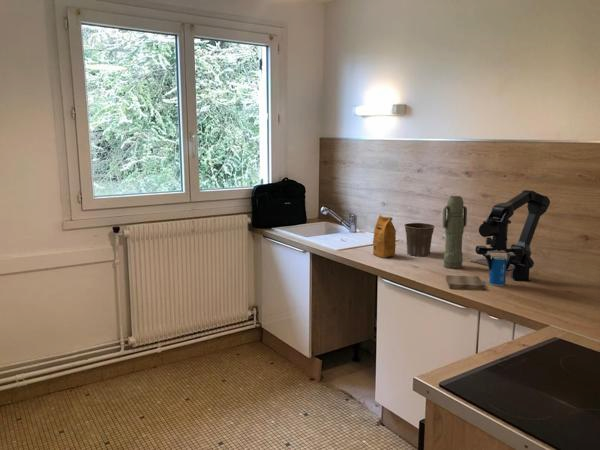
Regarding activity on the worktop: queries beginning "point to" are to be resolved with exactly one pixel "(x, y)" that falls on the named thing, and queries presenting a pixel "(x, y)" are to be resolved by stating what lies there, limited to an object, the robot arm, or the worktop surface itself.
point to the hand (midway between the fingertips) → (498, 269)
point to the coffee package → (384, 238)
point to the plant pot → (419, 238)
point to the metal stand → (464, 282)
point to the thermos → (454, 231)
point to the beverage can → (498, 271)
